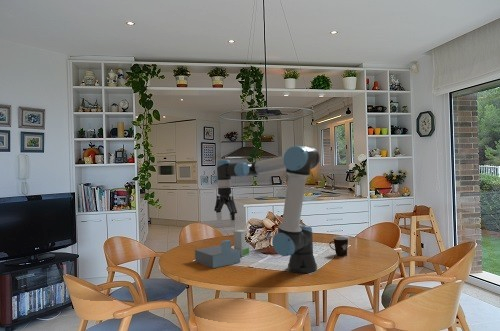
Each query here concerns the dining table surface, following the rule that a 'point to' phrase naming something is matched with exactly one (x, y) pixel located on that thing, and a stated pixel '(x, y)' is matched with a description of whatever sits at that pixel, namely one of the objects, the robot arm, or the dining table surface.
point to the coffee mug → (340, 246)
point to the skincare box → (241, 242)
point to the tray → (226, 255)
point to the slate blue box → (208, 255)
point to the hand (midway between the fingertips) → (225, 225)
